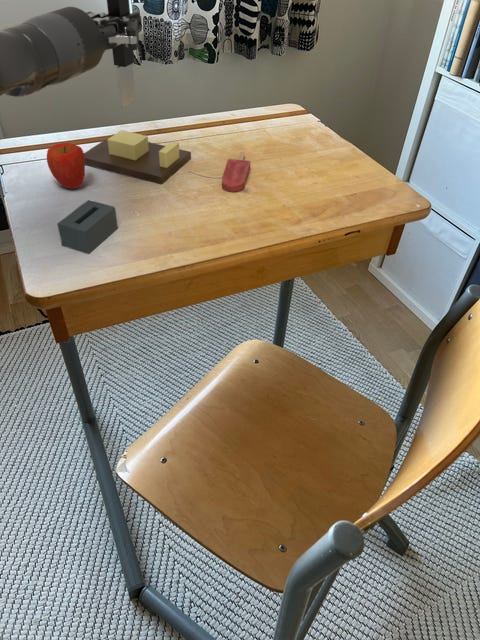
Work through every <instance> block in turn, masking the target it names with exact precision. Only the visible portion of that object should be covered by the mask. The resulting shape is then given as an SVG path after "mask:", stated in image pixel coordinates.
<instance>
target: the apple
mask: <svg viewBox="0 0 480 640" xmlns="http://www.w3.org/2000/svg"><path fill="white" fill-rule="evenodd" d="M84 153H85V151H84V149H83V148H82V147H81V146H80V145H77V144H74V143H71V142H61V143H57V144H53V145H52V146H50V147H48V149H47V151H46V163H47V167H48V169H49V171H50V173H51V175H52V176H53V178H54V179H55V180H56V181H57V182H58V184H59V185H60V186H61V187H63V188H65V189H77V188H79V187H81V186H83V184H84V180H85V175H86V165H85V156H84Z"/></svg>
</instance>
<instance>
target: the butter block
mask: <svg viewBox="0 0 480 640" xmlns="http://www.w3.org/2000/svg"><path fill="white" fill-rule="evenodd" d="M114 134H115V135H113V134H112V135H113V136H112V137H110V136H109V137H110V138H109V139H107V138H106V139H107V140H108V148H109V154H111V155H115V156H119V157H123V158H128V159H132V160H137V159H138V158H140V157H141V156H142V155H144V154H145V153H146V152H148V151H149V145H148V142H149V136H148V135H144V134H140V133H136V132H132V131H128V130H124V129H123V130H120V131H118V132H116V133H114Z"/></svg>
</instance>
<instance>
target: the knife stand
mask: <svg viewBox="0 0 480 640" xmlns="http://www.w3.org/2000/svg"><path fill="white" fill-rule="evenodd" d="M56 224H57V229H58V233H59V237H60V242H61V245H62V246H63V247H66V248H68V249H71V250H75V251H79V252H82V253H85V254H88V255H90V254H91V253H92V252H94V250H95V249H97V247H99V246H100V245H101V244H102V243H103V242H104V241H106V240H107V239H108V238H109V237H110V236H111V235H112V234H114V233H115V232H116V231H117V230H118V229H119V225H118V219H117V212H116V207H115V206H113V205H110V204H105V203H102V202H98V201H94V200H91V199H87V200H86V201H85V202H83V203H82V204H81V205H80V206H79V207H77V208H76V209H75V210H73V211H72V212H71V213H69V214H67V216H65V217H64V218H62V220H60V221H58V222H57V223H56Z"/></svg>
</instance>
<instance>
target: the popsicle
mask: <svg viewBox="0 0 480 640" xmlns="http://www.w3.org/2000/svg"><path fill="white" fill-rule="evenodd" d="M244 157H245V152H244V151H240V152H239V155H238V158H237V159H235V158H227V160H226V164H225V167H224V171H223V175H222V179H221V187H222V189H223V190H224V191H227V192H231V193H236V192H241V191H242V190H243V189H245V186H246V183H247V181H248V177H249V173H250V170H251V161H250V160H244Z"/></svg>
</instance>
